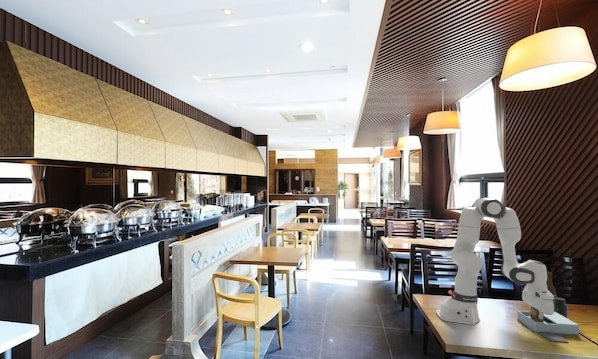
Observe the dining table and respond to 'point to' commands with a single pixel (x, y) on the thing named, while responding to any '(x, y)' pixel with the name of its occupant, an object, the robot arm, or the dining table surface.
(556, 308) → the supplement bottle
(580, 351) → the dining table surface
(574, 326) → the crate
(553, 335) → the pad
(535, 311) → the walnut block
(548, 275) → the beer bottle
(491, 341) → the dining table surface
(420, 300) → the dining table surface
